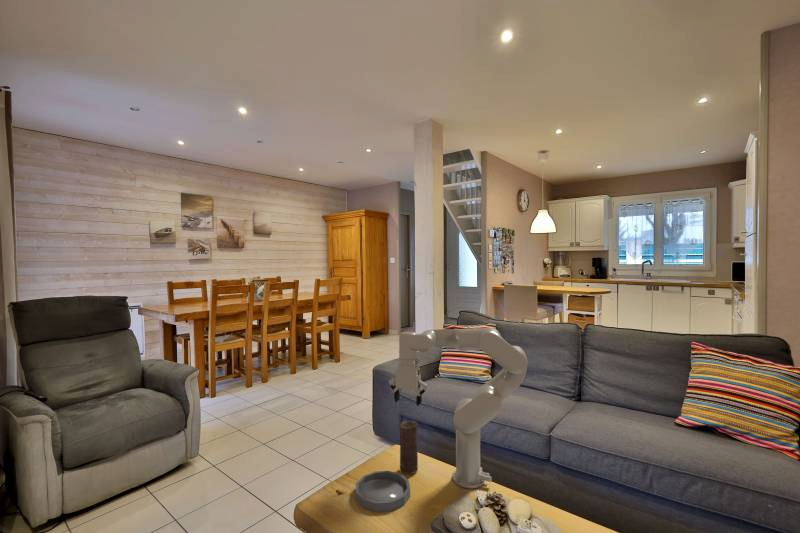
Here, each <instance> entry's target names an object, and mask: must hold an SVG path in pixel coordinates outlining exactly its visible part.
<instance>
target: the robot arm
mask: <svg viewBox="0 0 800 533" xmlns="http://www.w3.org/2000/svg"><path fill="white" fill-rule="evenodd" d="M398 339H399V340H398V342H399V343H398V346H399V348H398V350H399V351H398V364H397V366H396V371H395V372H396V373H395V377H393V378H391V379H389V380H388V384H389V386H390V388H391V389H392V392H393V393H394V394H393V396H394V398H393V399H394V402H395V403H397V402H399V401H400V392H401V391H400V390H406V391H411V392H415V393H416V398H415V400H416V401H415V402H416V403H415V404H416V406H417V407H419V406H420V405H421V404H422V400H423V399H422V396H423V394H424V393H425V392H426V391H427V389H428V387H429V386H428V384H427V383H425V382H424V381H423V380H422V378H421V377H422V376H421V369H420V363H421V360H420V359H418V352H420V353H428V352H431V351H432V350H433V349H434V348H440V347H441V348H442V347H443V348H445V347H446V348H453V349H456V350H457V351H460V352H461V351H462V352H464V351H465V352H466V351H483V353H484V354H486V355H487V356H488V357H489V358H491V359H492V360H493V361H494V362H496V363H497V364H498V365H500V367H501V368H502V369H500V371H499V372H498V373H497V374H496V375H494V376H493V377H492V378H491V379H489V380H488V381H487V382H485V383H484V384H483V385H481V386H479V388H478V390H477V391H476V396H475V397H474V398H470V397H464V398H462V399H460V401H459V402H458V403H457V405H456V407H455V410H454V415H453V424H454V427H455V466H456V467H455V470H454V471H453V472H452V475H451V478H452V481H453V483H454V484H456V486H458V487H461V488H464V489H478V488H481V487H482V486H483V485H485V484H484V483H485V481H486V482H489V483H492V478H493V477H492V476H490V475H491V474H490V473H489V472H484V471H483V467H481V428H483V426H485V425H486V424H488V423H489V422H490V421H492V420H493V419H494V418H495V417H496V416H497V415H498V414H499V413H500V412H501V410H502V406H503V404H502V403H503V401H504V400H505V399H506V398H508V397H509V396H510V395H511V394H513V392H515V391H516V390H517V389H518V388H519V387H520V386H521V385H522V383H523V381H524V379H525V377H526V374H527V371H528V370H527V369H528V364H529V362H528V357H527V354H526V353H525V350H524V349H523V348H522V347H520V346H518V345H512V344H510V343H509V342H508V341H506V339H504V338H503V337H502V335H501V333H500V331H499V330H497V328H493V327H478V328H477V327H476V328H461V329H460V328H459V329H457V328H453V329H452V328H451V329H449V328H442V329H427V330H424V331H423V332H421V333H418V334H417V332H414V331H402V332H400V333H399V336H398ZM394 382H395V384H394ZM421 387H422V389H421Z"/></svg>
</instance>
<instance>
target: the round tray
mask: <svg viewBox="0 0 800 533" xmlns="http://www.w3.org/2000/svg"><path fill="white" fill-rule="evenodd" d="M410 498H411V485H410V481H409V479H408V478H406V477H405V476H404V475H403V474H402V473H399V472H394V471H390V470H378V471H377V470H376V471H373V472H369V473H367V474H365V475H363V476H362V477H361V478H359V480H357V482H356V483H355V501H356V502H357V503H358V504H359V505H360V506H361V507H362V509H365V510H369V511H372V512H376V513H381V512H393V511H395V510H398V509H399V508H401V507H403V506H405V505H406V504H407V502H408V501H409V499H410Z"/></svg>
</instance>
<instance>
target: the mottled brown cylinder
mask: <svg viewBox="0 0 800 533" xmlns="http://www.w3.org/2000/svg"><path fill="white" fill-rule="evenodd" d="M399 427H400V428H399V430H400V434H399V435H400V438H399V441H400V442H399V443H400V444H399V446H400V447H399V469H400V472H401V473H405V474H413V473H417V472H418V469H419V468H418V464H419V463H418V462H419V461H418V459H419V458H418V423H417V421H414V420H409V421H403V422H401V423H400V426H399Z"/></svg>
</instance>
